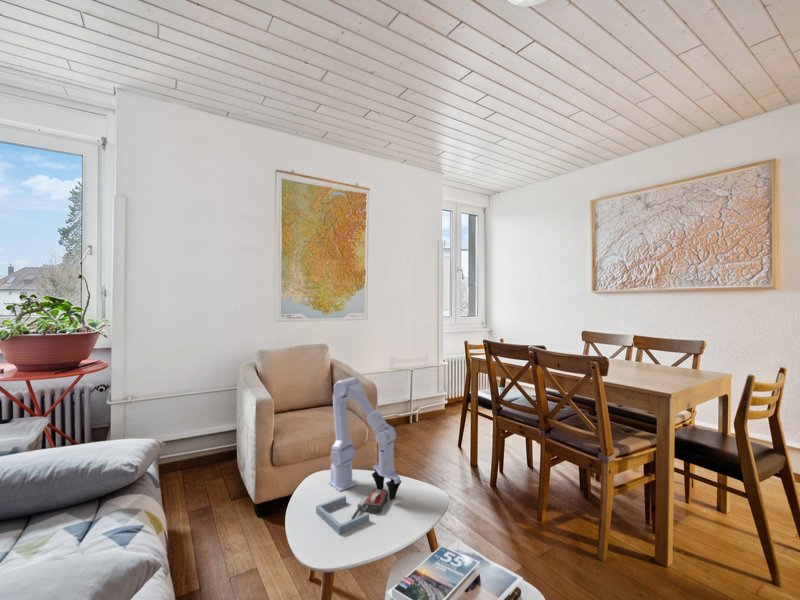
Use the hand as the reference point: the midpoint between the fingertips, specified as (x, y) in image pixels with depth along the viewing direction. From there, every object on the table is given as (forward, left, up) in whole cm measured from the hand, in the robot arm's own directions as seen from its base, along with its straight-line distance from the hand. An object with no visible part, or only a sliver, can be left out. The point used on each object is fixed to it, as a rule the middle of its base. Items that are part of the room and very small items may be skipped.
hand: (386, 495), depth 145 cm
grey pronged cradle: (0, -19, -1) cm, 19 cm away
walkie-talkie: (+2, -8, -2) cm, 9 cm away
